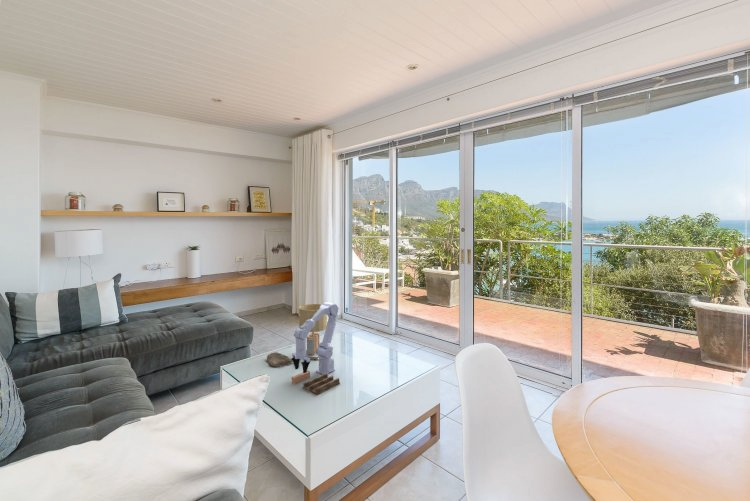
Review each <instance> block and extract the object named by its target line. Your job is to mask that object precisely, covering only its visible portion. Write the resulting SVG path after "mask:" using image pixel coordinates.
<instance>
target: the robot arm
mask: <svg viewBox="0 0 750 501" xmlns="http://www.w3.org/2000/svg"><path fill="white" fill-rule="evenodd" d="M321 304H322V305H321V306H320V309H319V310H318V311H317V312H316V314H315V315H314V316H313V317H312V318H311V319H308V320H306V322H305V323H304V324H303V325H302V326H301V327H300V328H299V327H298V328H297V329H295V331H294V333H293V336H294V337H295V352H293V353H292V354H291V356H292V357H291V358H290V359H291V360H292V364H293V366H294V369H295V370H298V369H299V368H300V363H301V366H302V373H306V372H307V371H308V368H309V365H310V363H311V359H310V358H308V357H307V356H306V350H307V337H309V334H310V333H311V332H310V330H311V329H312V328H313V327H314V326H315V322H317V321H318V320H319V319H320V318H321V317H322V316H323V315H325V314H327V326H326V329H325V330H324V334H323V338H322V341H321V342H320V344H319V347H318V348H317V350H316V353H317V355H318V357H319V359H318V369H317V370H315V372H316V373H319V374H321V375H324V374H326V373H327V374H330V373H331V372H334V371H335V359H334V357H333V350H334V347H333V345H332V340H333V337H334V332H335V328H336V324H337V321H338V316H339V315H338V313H339V309H340V308H339V306H338V304H336V303H332V302H328V301H324V302H322V303H321ZM300 361H301V362H300Z"/></svg>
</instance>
